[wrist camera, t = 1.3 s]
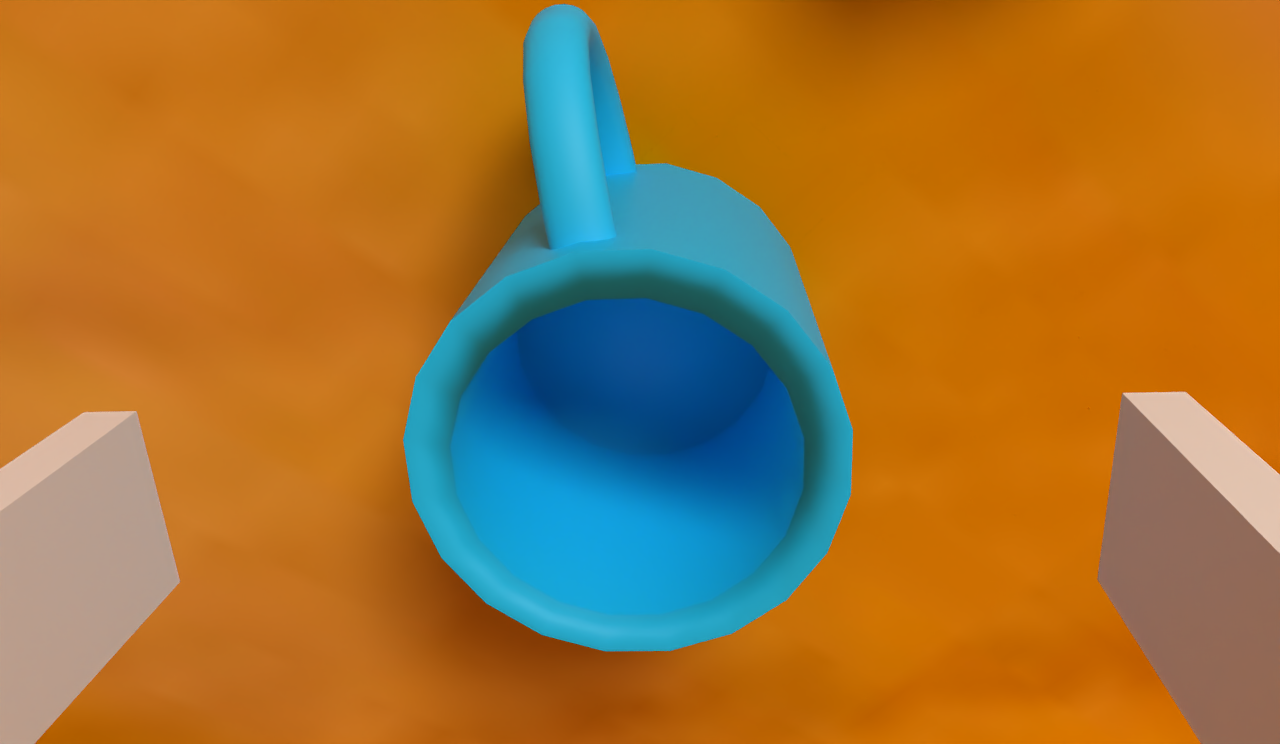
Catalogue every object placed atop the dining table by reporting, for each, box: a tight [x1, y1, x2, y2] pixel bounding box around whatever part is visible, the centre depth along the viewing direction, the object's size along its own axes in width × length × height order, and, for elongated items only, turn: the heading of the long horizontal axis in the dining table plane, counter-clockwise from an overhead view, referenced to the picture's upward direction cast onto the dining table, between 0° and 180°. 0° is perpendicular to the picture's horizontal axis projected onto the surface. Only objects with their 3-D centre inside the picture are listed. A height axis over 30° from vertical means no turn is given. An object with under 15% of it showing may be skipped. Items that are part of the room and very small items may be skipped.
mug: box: [403, 4, 853, 651], centre depth 21 cm, size 12×8×8 cm
